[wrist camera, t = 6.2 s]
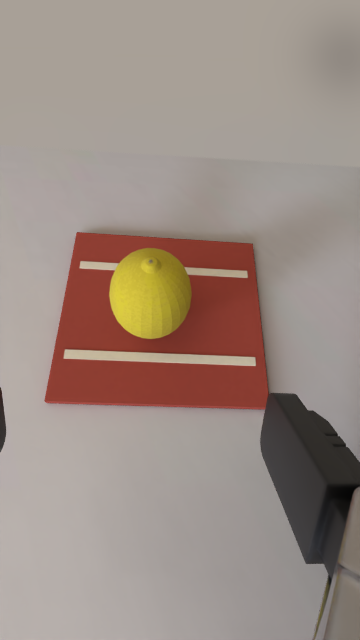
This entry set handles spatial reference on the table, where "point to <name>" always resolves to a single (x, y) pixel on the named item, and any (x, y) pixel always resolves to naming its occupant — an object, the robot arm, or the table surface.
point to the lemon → (150, 293)
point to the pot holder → (171, 350)
